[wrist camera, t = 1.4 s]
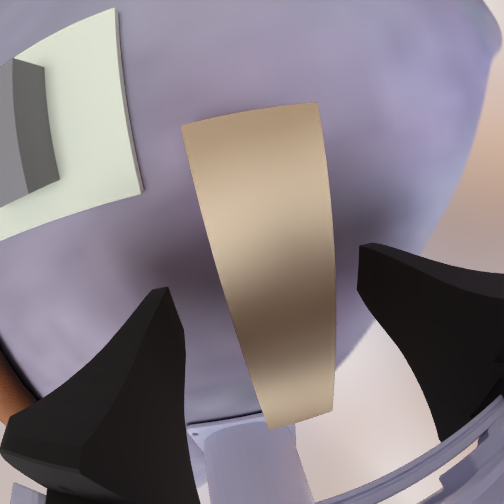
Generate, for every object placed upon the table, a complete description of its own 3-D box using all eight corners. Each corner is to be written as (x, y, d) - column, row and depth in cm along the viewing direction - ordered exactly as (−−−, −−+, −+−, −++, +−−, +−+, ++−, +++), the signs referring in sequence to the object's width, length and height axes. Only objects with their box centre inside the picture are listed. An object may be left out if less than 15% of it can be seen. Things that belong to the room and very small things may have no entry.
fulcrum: (144, 190, 10) (124, 212, 7) (-14, 244, 9) (-45, 271, 6) (118, 12, 6) (96, -18, 4) (-40, 107, 5) (-75, 111, 3)
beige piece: (300, 342, 15) (332, 410, 11) (249, 356, 15) (269, 430, 10) (266, 114, 10) (317, 102, 5) (190, 129, 9) (180, 125, 5)
